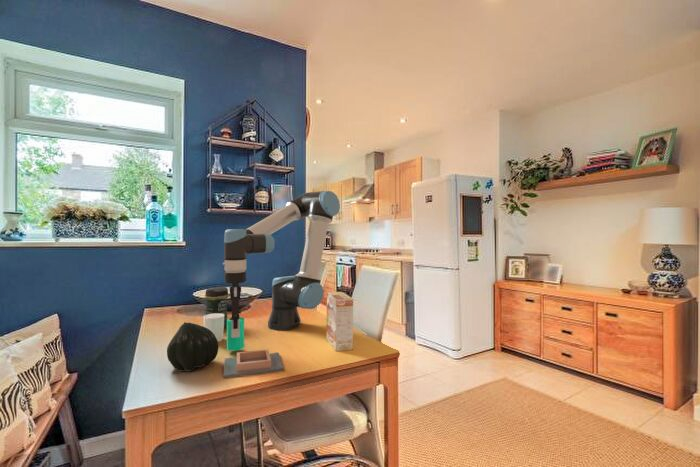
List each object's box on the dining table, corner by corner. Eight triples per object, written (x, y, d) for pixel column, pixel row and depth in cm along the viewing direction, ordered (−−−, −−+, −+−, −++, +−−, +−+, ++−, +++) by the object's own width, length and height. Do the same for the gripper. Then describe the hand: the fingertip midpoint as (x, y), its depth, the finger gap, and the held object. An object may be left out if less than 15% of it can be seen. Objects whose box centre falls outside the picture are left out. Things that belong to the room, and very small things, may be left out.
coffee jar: (213, 332, 143) (213, 289, 143) (201, 329, 147) (201, 288, 147) (231, 326, 152) (231, 286, 152) (219, 324, 156) (219, 285, 156)
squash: (229, 351, 106) (213, 311, 112) (180, 366, 95) (166, 321, 101) (214, 370, 113) (201, 332, 120) (168, 387, 102) (155, 344, 109)
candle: (226, 351, 117) (226, 317, 116) (227, 345, 122) (227, 313, 122) (243, 349, 118) (243, 316, 118) (244, 344, 124) (244, 312, 124)
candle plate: (278, 354, 118) (278, 346, 118) (283, 370, 105) (283, 361, 105) (224, 360, 112) (225, 351, 112) (223, 378, 99) (223, 368, 99)
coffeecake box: (325, 339, 136) (326, 292, 136) (342, 337, 138) (342, 291, 138) (335, 351, 122) (335, 299, 122) (353, 349, 124) (354, 298, 124)
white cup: (216, 344, 128) (216, 318, 128) (198, 342, 130) (199, 317, 129) (228, 338, 136) (228, 313, 136) (211, 336, 137) (211, 312, 137)
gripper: (225, 268, 128) (225, 327, 128) (223, 275, 110) (223, 344, 110) (245, 267, 130) (245, 326, 130) (246, 274, 112) (247, 341, 113)
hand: (235, 334), depth 120 cm, fingers closed on candle, 6 cm apart
